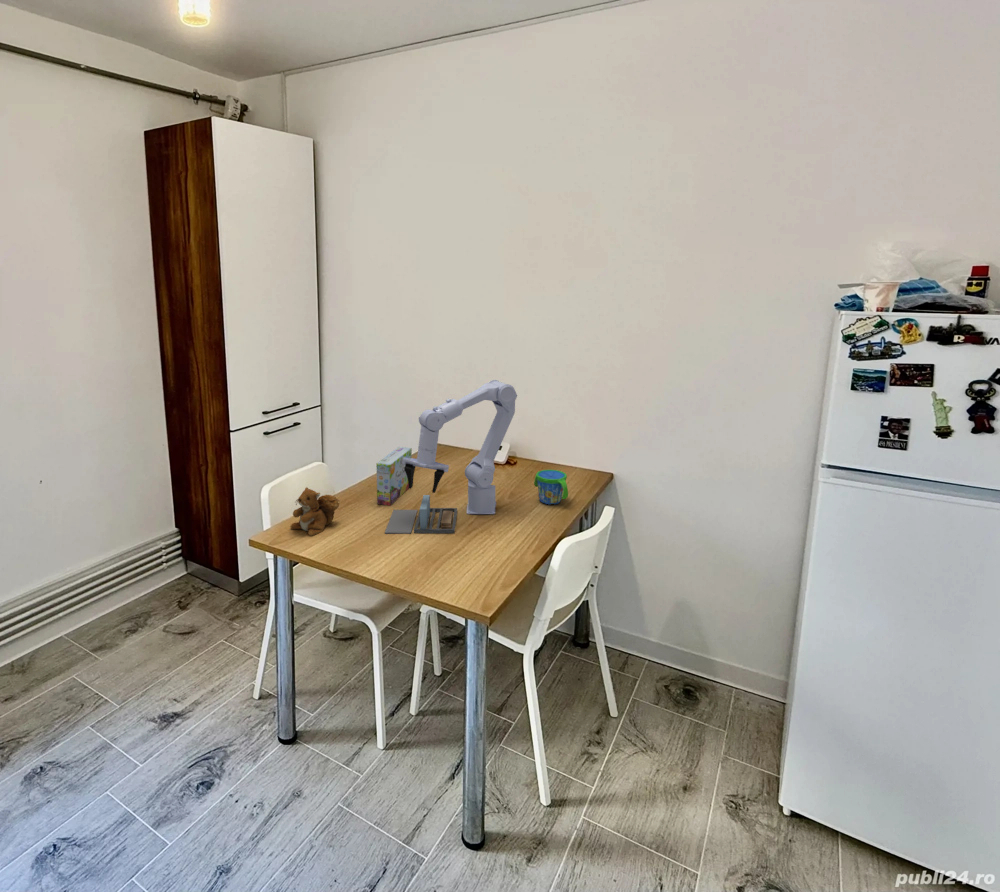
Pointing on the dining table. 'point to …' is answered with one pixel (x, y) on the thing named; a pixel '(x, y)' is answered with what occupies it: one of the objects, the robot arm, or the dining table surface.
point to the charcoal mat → (401, 522)
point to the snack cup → (551, 486)
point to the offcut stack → (446, 520)
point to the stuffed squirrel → (314, 511)
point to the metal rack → (437, 530)
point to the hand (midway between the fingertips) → (422, 489)
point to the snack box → (392, 476)
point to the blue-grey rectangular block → (425, 512)
